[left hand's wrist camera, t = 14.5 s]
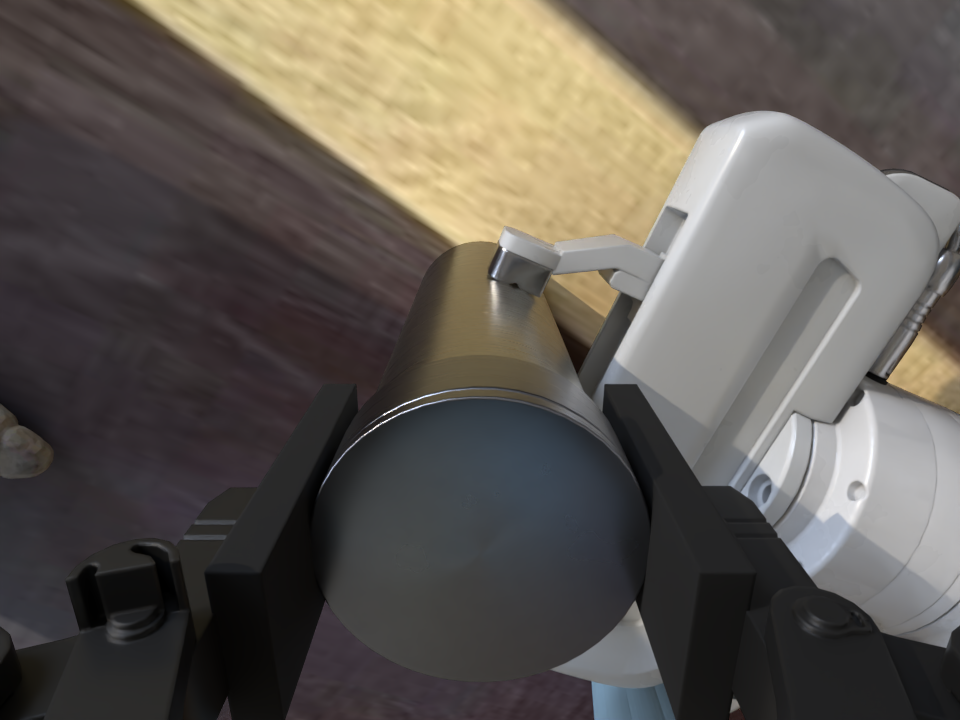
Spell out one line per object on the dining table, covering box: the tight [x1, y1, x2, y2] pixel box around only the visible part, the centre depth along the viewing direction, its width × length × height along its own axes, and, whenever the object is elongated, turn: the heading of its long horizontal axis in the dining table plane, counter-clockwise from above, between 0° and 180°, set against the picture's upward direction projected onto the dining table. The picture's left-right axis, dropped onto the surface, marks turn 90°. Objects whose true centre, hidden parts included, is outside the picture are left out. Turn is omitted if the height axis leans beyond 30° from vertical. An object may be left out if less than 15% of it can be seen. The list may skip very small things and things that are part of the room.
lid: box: [310, 355, 651, 682], centre depth 11 cm, size 6×6×2 cm
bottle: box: [377, 241, 584, 392], centre depth 19 cm, size 5×5×16 cm
